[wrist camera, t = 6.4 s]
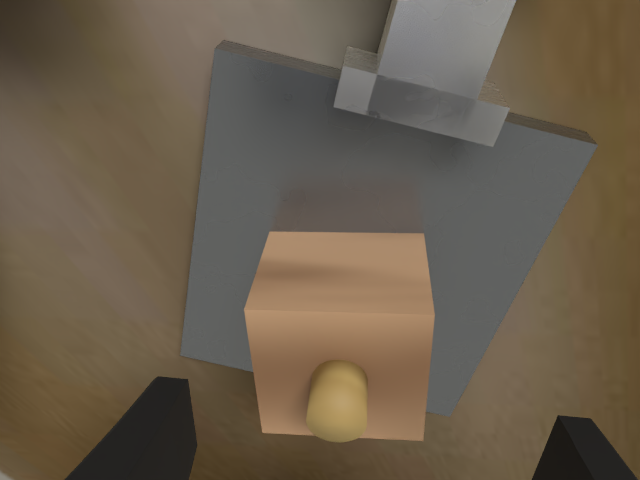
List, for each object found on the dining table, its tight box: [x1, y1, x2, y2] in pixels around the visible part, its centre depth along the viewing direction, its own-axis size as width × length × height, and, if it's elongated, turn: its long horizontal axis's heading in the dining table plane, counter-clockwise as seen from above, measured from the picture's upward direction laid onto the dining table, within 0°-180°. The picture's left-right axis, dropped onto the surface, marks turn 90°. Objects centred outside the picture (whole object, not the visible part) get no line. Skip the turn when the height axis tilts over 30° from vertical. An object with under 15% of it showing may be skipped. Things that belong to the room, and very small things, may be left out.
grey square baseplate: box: [180, 40, 598, 417], centre depth 19 cm, size 11×12×1 cm
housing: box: [244, 232, 435, 442], centre depth 17 cm, size 5×5×6 cm
